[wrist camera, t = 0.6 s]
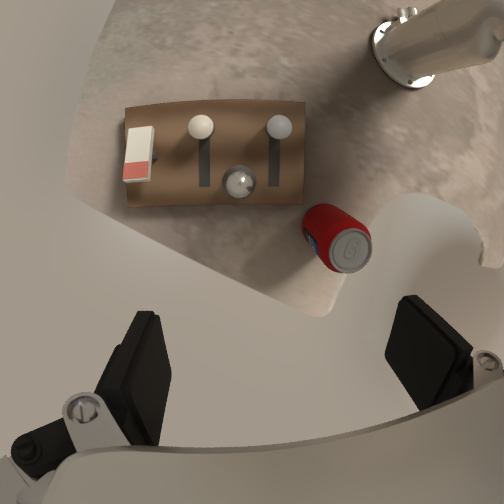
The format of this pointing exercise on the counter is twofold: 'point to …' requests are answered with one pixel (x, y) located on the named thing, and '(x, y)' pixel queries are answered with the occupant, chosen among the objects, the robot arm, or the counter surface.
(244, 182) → the button
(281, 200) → the console
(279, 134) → the lever grey
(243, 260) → the counter surface
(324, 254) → the beverage can
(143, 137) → the block
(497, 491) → the robot arm
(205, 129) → the lever ivory
